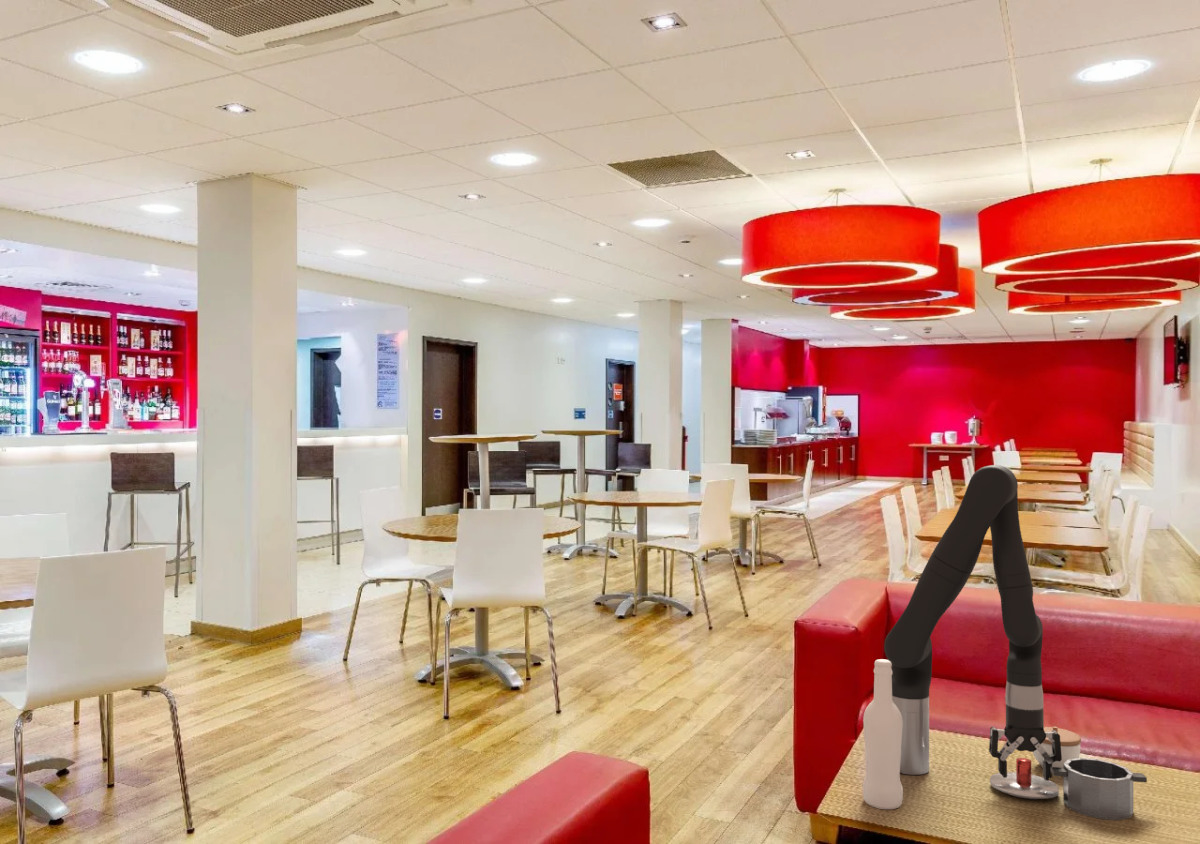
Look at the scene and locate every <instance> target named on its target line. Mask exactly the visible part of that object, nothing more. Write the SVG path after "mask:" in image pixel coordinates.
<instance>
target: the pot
mask: <svg viewBox="0 0 1200 844" xmlns="http://www.w3.org/2000/svg"><path fill="white" fill-rule="evenodd" d="M1050 772H1051V773H1052V776H1055V777H1063V778H1062V779H1063V783H1062V784H1063V787H1062V788H1063V798H1062V799H1063V803H1064V804H1065V806H1066V807H1067V809H1070V810H1072V811H1074V812H1076V813H1078V814H1080V815H1083V816H1087V817H1091V818H1094V819H1097V820H1110V821H1111V820H1112V821H1119V820H1120V821H1121V820H1127V819H1130V818H1131V817H1132V815H1133V814H1134V782H1136V783H1148V782H1147V781H1148V777H1146V775H1145V774H1143V773H1142V772H1141V773H1140V772H1139V773H1138V772H1132V771H1131V770H1130V769H1129V768H1128V767H1125V766H1122V765H1120V764H1117V763H1115V762H1112V761H1106V760H1104V759H1103V760H1102V759H1098V758H1088V757H1087V758H1084V757H1079V758H1076V759H1069V760H1067V761H1066V762H1065V763H1064V764H1063V768H1059V767H1050Z"/></svg>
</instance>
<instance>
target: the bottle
mask: <svg viewBox="0 0 1200 844" xmlns="http://www.w3.org/2000/svg"><path fill="white" fill-rule="evenodd" d="M873 664H874V665H873V666H874V668H873V673H874V675H873V677H874V679H873V680H874V681H873V698H872V700H871V702H870V703H869V704H868V705H867V706H866V708H865V710H864V713H863V717H862V719H863V722H862V723H863V734H864V735H863V736H864V737H863V739H864V752H865V754H864V756H865V777H864V780H863V783H862V797H863V800H864V802H865V803H866V804H867V805H869V806H870V807H872V808H875V809H879V810H895V809H897V808H900V807H901V805H902V803H903V799H904V788H903V785H902V783H901V779H900V778H901V776H900V774H901V773H900V758H901V743H902V727H903V721H902V716H901V713H900V711H899V709H898V708H897V706H896V705H895V704H894V702H893V701H892V669H891V668H892V663H891V661H889V660H888V659H883V658H880V659H876V660H875V661H874V663H873Z"/></svg>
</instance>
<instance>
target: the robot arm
mask: <svg viewBox="0 0 1200 844" xmlns="http://www.w3.org/2000/svg"><path fill="white" fill-rule="evenodd" d="M1018 488H1019V487H1018V479H1017V476H1016V475H1015V474H1014V473H1013V472H1012V471H1011V470H1010V469H1009V468H1007V467H1006V466H1003V465H1000V464H999V465H998V464H991V465H986V466H983V467H980V468H979V469H977V470H976V471H975V472H974V473H973V474H972V476H971V478H970V479H969V481H968V484H967V487H966V489H965V493H964V496H963V497H962V500H961V502H960V504H959V507H958V510H957V512H956V514H955V515H954V517H953V519H952V521H951V522H950V524H949V525H948V527H947V528H946V530H945V531H944V533H943V534H942V536H941V538H940V539H939V541H938V543H937V544H936V546H935V547H934V550H933V551H932V553H931V555H930V557H929V559H927V562H926V564H925V566H924V568H923V571H922V573H921V575H920V577H919V579H918V580H917V583H916V585H915V587H914V590H913V592H912V595H911V597H910V599H909V601H908V604H907V605H906V607H905V609H904V611H903V612H902V614H901V615H900V616H899V619H897V621H896V623H895V624H894V626H893V627H892V628H891V630H889V632H888V634H887V635H886V638H885V640H884V647H883V648H884V653H885V656H886V658H887V660H889V661H891V664H892V666H891V669H892V701H893V702H894V704H895V705H896V706H897V708H898V709H899V711H900V713H901V716H902V721H903V727H902V743H901V758H900V774H904V775H912V776H913V775H915V776H918V775H919V776H920V775H924V774H927V773H929V772H930V689H931V688H930V687H931V683H932V675H933V673H932V671H933V643H932V638H931V636H932V634H933V632H934V630H935V627H936V626H937V625H938V622H939V620H941V618H942V617H943V616H944V614H945V613H946V612H947V610H948V609H949V608H950V607H951V606H952V604H953V603H954V601H956V599H957V597H958V596H959V595H960V593H961V592H962V590H963V588H964V587H965V586H966V584H967V582H968V580H969V578H970V576H971V574H972V573H973V571H974V569H975V566H976V564H977V561H978V559H979V556H980V553H981V550H982V546H983V544H984V541H985V537H986V535H987V533H988V531H989V530H990V534H991V536H990V537H991V549H992V550H991V551H992V564H993V571H994V575H995V581H996V585H997V589H998V594H999V597H1000V606H1001V607H1000V608H1001V609H1000V610H1001V617H1002V625H1003V630H1004V632H1005V633H1004V634H1005V636H1006V637H1007V639H1008V648H1009V649H1008V650H1009V651H1008V656H1007V659H1006V685H1005V696H1004V700H1005V727H1004V728H1003V729H1002V728H996V727H995V726H991V727H990V729H989V744H988V745H989V746H988V752H989V754H990V755H991V756H992V758H996V759H998V760H997V761H998V763H997V765H998V766H997V767H998V768H997V769H998V773H1000V774H1001V775H1002V776H1003V778H1007V772H1008V761H1007V759H1008V758H1009V756H1010V755H1012V754H1013V753H1014V752H1015V751H1016V750H1017V751H1018V752H1025V751H1027V752H1032V753H1033V752H1034V751H1035V750H1038V751H1039V753H1040V754H1041V755H1042V756H1043V758H1044V760H1043V767H1042V778H1044V779H1045V780H1046V781H1049V780H1050V779H1052V778H1053V774H1052V773H1051V772H1050V767H1052V763H1053V762H1055V761H1061V760H1062V756H1061V742H1060V735H1059V734H1058V733H1057V732H1056V731H1055V730H1052V731H1051V732H1045V731H1044V727H1045V726H1044V725H1045V724H1044V722H1045V721H1044V720H1045V719H1044V716H1045V715H1044V690H1043V676H1042V674H1043V673H1042V672H1043V669H1042V648H1043V638H1044V637H1043V634H1044V633H1043V632H1044V631H1043V630H1044V629H1043V622H1042V620H1041V618H1040V617H1039V616H1038V614H1036V610H1035V604H1034V597H1033V596H1034V588H1033V587H1034V586H1033V582H1032V576H1031V572H1030V568H1029V563H1028V559H1027V554H1026V550H1025V546H1024V545H1025V544H1024V542H1023V537H1022V531H1021V526H1020V525H1021V524H1020V517H1019V504H1018V503H1019V500H1018V497H1019V496H1018ZM989 528H990V529H989ZM1003 736H1005V738H1006V741H1005V743H1004V744H1003V746H1002V748H1000V750H999V740H1001V739H1002V737H1003ZM1046 737H1047V738H1048V739H1049V741H1050V742H1052V754H1049V755H1048V753H1047V752H1046V751H1045V750H1044V748H1043V747H1042V746H1041V744H1042V742H1043V741H1044V740H1045V739H1046Z"/></svg>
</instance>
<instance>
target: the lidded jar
mask: <svg viewBox="0 0 1200 844" xmlns="http://www.w3.org/2000/svg"><path fill="white" fill-rule="evenodd" d="M1052 730H1055V731H1056V732H1057V733H1058V734H1059V735H1060V742H1061V756H1062V760H1061V761H1055V762H1053V763H1052V767H1059V768H1063V764H1064V763H1065V762H1066V761H1067V760H1069V759H1076V758H1080V754H1081V743H1082V737H1081V736H1080V734H1078V733H1077V732H1073V731H1071V730H1069V729H1064V728H1059V727H1058V726H1052V727H1051V726H1044V731H1045V732H1051V731H1052ZM1041 746H1042V747H1043V748H1044V750H1045V751H1046V752H1047V753H1048V755H1049V754H1052V742H1050V741H1049V739H1048V738H1047V737H1046V739H1045V740H1044V741H1043V742H1042V744H1041ZM1032 756H1033V757H1034V759H1035V760H1036V762H1038V763H1039V764H1040V767H1041V768H1043V760H1044V758H1043V756H1042V755H1041V754H1040V753H1039V751H1038V750H1035V751H1034V752H1032Z"/></svg>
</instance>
